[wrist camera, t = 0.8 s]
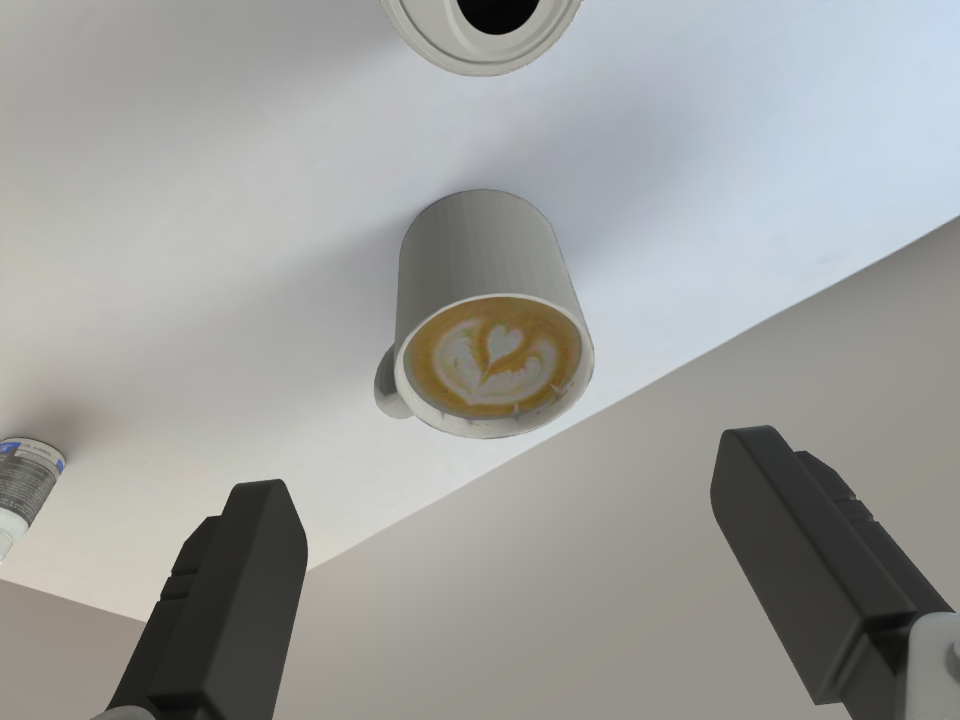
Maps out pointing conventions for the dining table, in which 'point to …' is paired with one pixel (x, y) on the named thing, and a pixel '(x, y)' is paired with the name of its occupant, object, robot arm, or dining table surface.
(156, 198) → the dining table surface
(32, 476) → the pill bottle
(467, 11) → the beverage can
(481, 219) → the coffee mug
